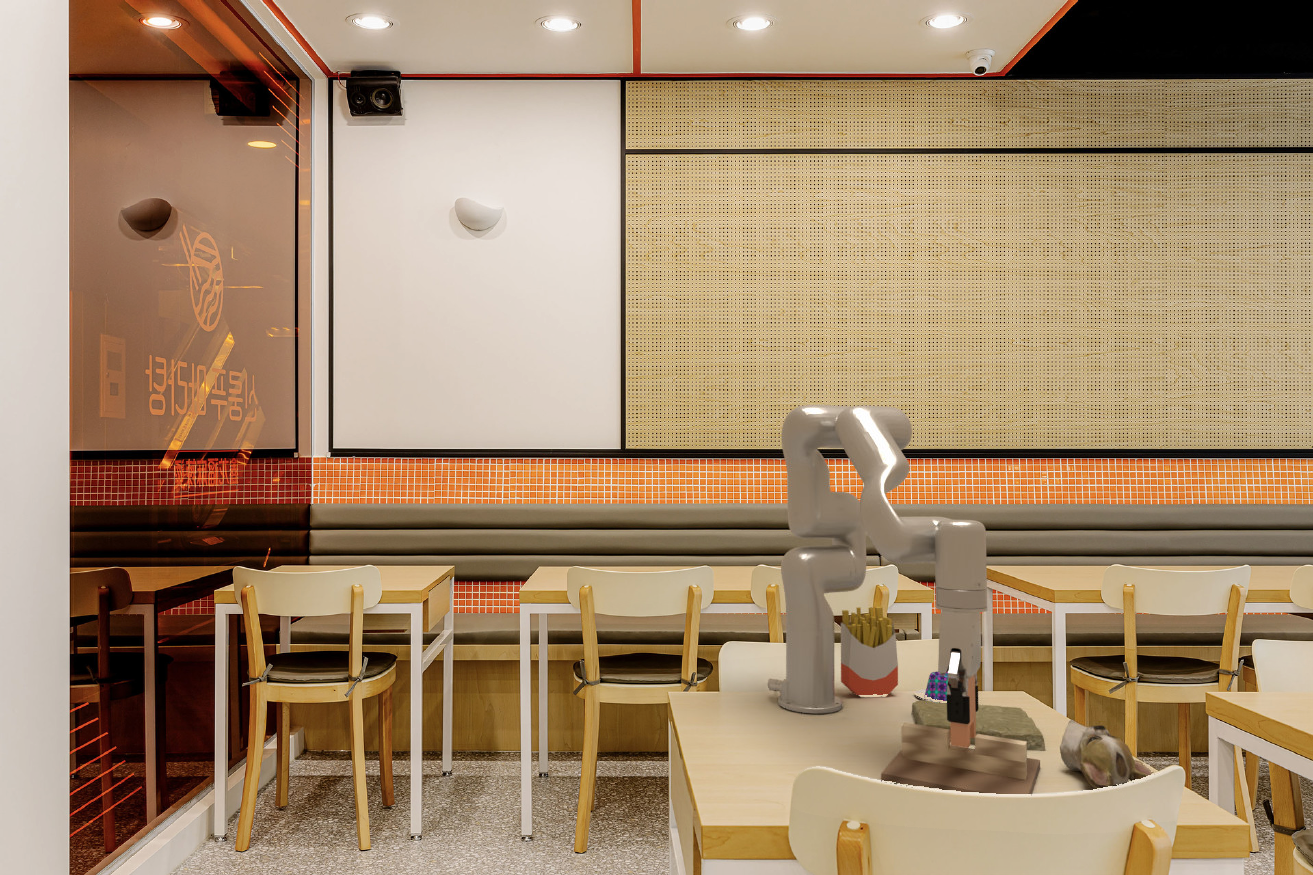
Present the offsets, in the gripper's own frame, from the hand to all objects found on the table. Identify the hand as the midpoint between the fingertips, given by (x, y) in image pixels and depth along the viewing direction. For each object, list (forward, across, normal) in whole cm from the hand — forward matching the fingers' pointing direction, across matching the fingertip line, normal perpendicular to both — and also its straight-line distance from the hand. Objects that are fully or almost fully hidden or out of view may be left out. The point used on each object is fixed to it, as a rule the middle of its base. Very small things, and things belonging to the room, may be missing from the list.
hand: (963, 715), depth 126 cm
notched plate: (+4, 0, 0) cm, 4 cm away
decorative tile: (+10, -24, -2) cm, 26 cm away
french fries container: (+9, -38, -25) cm, 47 cm away
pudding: (+9, -44, -11) cm, 47 cm away
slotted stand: (+9, 0, 0) cm, 9 cm away
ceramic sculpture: (+9, -8, +18) cm, 22 cm away
